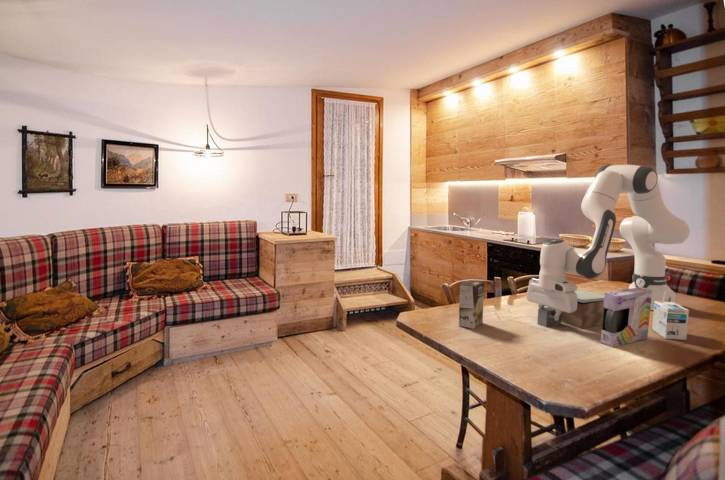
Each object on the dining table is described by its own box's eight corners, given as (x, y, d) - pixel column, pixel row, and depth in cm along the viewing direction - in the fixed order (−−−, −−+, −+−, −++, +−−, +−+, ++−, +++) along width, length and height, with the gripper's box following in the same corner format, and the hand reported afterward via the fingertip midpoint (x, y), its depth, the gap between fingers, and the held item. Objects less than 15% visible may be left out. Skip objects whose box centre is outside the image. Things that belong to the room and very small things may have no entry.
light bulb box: (687, 340, 146) (690, 309, 145) (665, 339, 148) (667, 308, 146) (671, 330, 157) (674, 301, 155) (650, 329, 158) (653, 300, 157)
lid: (582, 292, 175) (582, 288, 175) (610, 299, 164) (611, 294, 164) (555, 295, 168) (555, 290, 168) (582, 302, 157) (583, 297, 157)
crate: (580, 314, 176) (582, 292, 175) (608, 322, 166) (610, 299, 164) (553, 319, 169) (554, 297, 168) (581, 328, 158) (582, 304, 157)
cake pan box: (610, 348, 139) (614, 295, 137) (596, 343, 144) (600, 291, 142) (649, 339, 147) (653, 289, 145) (635, 335, 152) (639, 286, 149)
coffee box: (474, 329, 158) (476, 286, 156) (458, 326, 161) (459, 284, 159) (483, 322, 165) (484, 281, 163) (467, 319, 169) (468, 279, 167)
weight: (552, 321, 167) (553, 306, 167) (560, 324, 164) (561, 308, 163) (537, 324, 164) (538, 308, 163) (546, 327, 160) (547, 311, 160)
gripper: (523, 277, 170) (522, 312, 171) (569, 288, 151) (566, 326, 153) (535, 276, 172) (533, 310, 174) (581, 287, 154) (578, 324, 156)
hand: (549, 318), depth 164 cm, fingers closed on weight, 4 cm apart
